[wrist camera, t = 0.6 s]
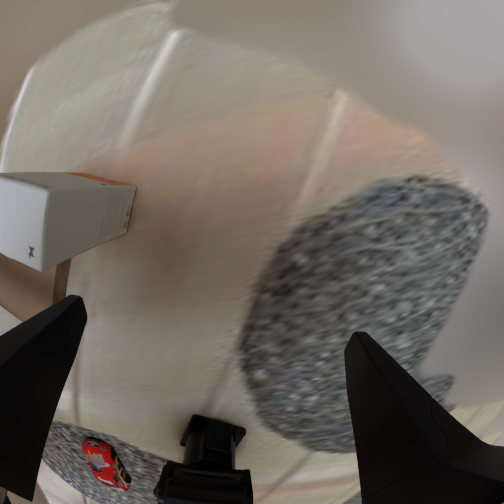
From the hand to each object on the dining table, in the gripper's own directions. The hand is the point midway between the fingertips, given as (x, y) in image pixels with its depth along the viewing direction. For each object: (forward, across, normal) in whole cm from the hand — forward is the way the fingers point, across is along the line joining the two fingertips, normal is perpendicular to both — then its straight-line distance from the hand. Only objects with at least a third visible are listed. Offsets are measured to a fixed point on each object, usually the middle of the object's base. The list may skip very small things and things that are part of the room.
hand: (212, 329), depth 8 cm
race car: (+4, +16, +40) cm, 43 cm away
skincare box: (+15, +12, +2) cm, 19 cm away
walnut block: (+13, +21, +10) cm, 27 cm away
